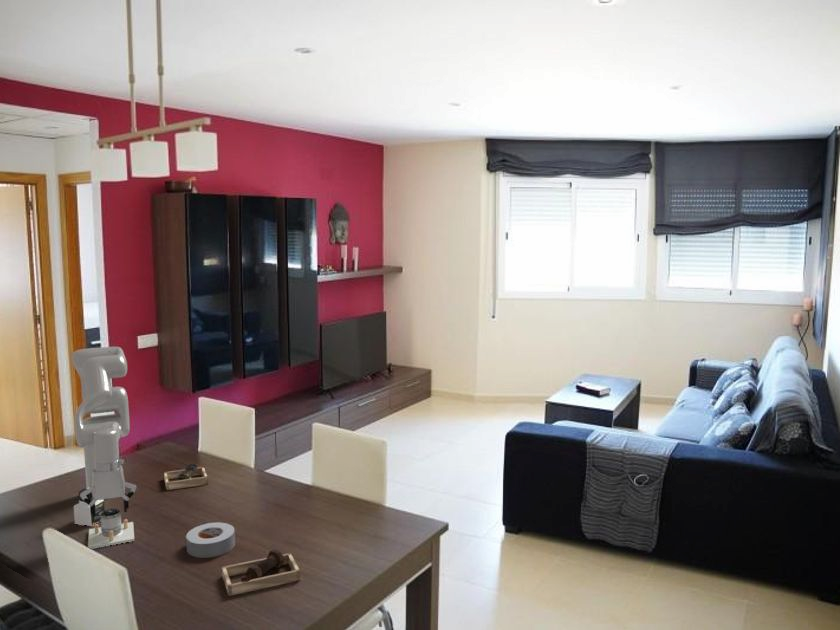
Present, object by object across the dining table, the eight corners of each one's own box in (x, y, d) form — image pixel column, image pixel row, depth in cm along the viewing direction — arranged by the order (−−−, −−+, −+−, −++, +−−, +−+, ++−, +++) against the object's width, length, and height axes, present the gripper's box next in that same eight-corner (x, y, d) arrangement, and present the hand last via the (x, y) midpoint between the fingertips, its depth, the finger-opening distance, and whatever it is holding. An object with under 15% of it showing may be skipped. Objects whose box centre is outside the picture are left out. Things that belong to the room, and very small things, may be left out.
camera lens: (108, 538, 220) (106, 516, 219) (97, 534, 224) (96, 512, 223) (125, 531, 225) (124, 509, 224) (115, 527, 229) (113, 505, 228)
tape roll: (190, 562, 208) (189, 547, 207) (183, 542, 221) (182, 527, 221) (239, 551, 215) (239, 537, 214) (229, 532, 228) (229, 518, 228)
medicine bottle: (92, 526, 232) (90, 494, 230) (74, 524, 233) (72, 492, 232) (105, 518, 239) (103, 486, 237) (88, 516, 240) (86, 484, 239)
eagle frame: (164, 479, 276) (163, 472, 275) (204, 473, 282) (203, 466, 282) (166, 490, 264) (166, 483, 263) (208, 484, 271) (207, 477, 270)
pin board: (89, 531, 228) (88, 520, 227) (133, 524, 234) (132, 513, 233) (88, 549, 215) (87, 537, 215) (134, 541, 221) (133, 529, 221)
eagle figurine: (197, 481, 270) (201, 469, 279) (186, 469, 268) (190, 457, 276) (182, 491, 271) (186, 479, 279) (171, 478, 268) (176, 467, 277)
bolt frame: (222, 576, 200) (221, 566, 199) (290, 561, 208) (290, 552, 208) (228, 596, 189) (228, 586, 188) (300, 580, 198) (300, 570, 197)
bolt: (242, 592, 192) (276, 568, 206) (253, 587, 190) (286, 563, 203) (234, 573, 193) (268, 551, 206) (244, 569, 191) (278, 546, 204)
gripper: (134, 457, 228) (137, 504, 231) (78, 465, 221) (82, 513, 224) (135, 465, 222) (138, 513, 224) (77, 473, 214) (81, 522, 217)
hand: (110, 513), depth 224 cm, fingers open, 9 cm apart
